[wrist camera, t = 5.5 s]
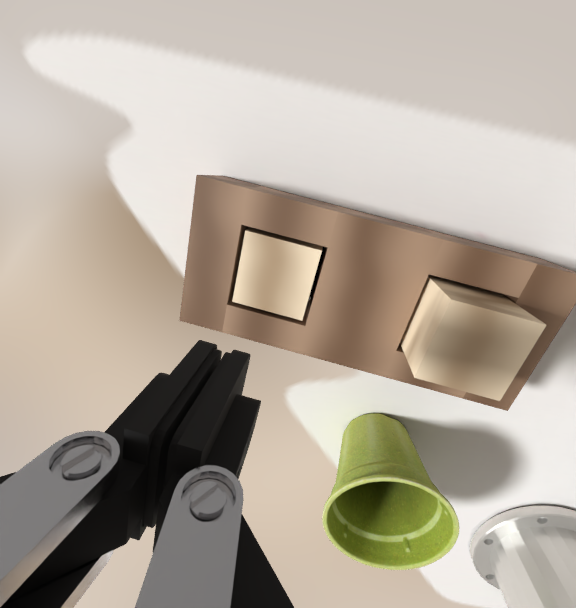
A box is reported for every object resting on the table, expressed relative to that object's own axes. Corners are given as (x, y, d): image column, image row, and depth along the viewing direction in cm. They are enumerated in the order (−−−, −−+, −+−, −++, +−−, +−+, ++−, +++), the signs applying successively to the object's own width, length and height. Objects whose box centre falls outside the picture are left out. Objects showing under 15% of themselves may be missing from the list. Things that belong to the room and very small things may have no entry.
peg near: (501, 294, 21) (546, 324, 17) (467, 358, 23) (499, 401, 18) (425, 274, 21) (451, 299, 17) (398, 339, 23) (414, 377, 19)
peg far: (323, 237, 25) (322, 250, 20) (307, 296, 27) (302, 320, 22) (260, 221, 25) (245, 230, 20) (248, 281, 27) (232, 301, 22)
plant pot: (349, 483, 34) (355, 579, 26) (308, 416, 31) (300, 498, 23) (440, 459, 31) (477, 557, 23) (402, 383, 28) (430, 463, 20)
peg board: (540, 258, 23) (591, 278, 19) (477, 371, 27) (507, 410, 23) (222, 175, 24) (196, 175, 19) (204, 296, 28) (179, 320, 23)
